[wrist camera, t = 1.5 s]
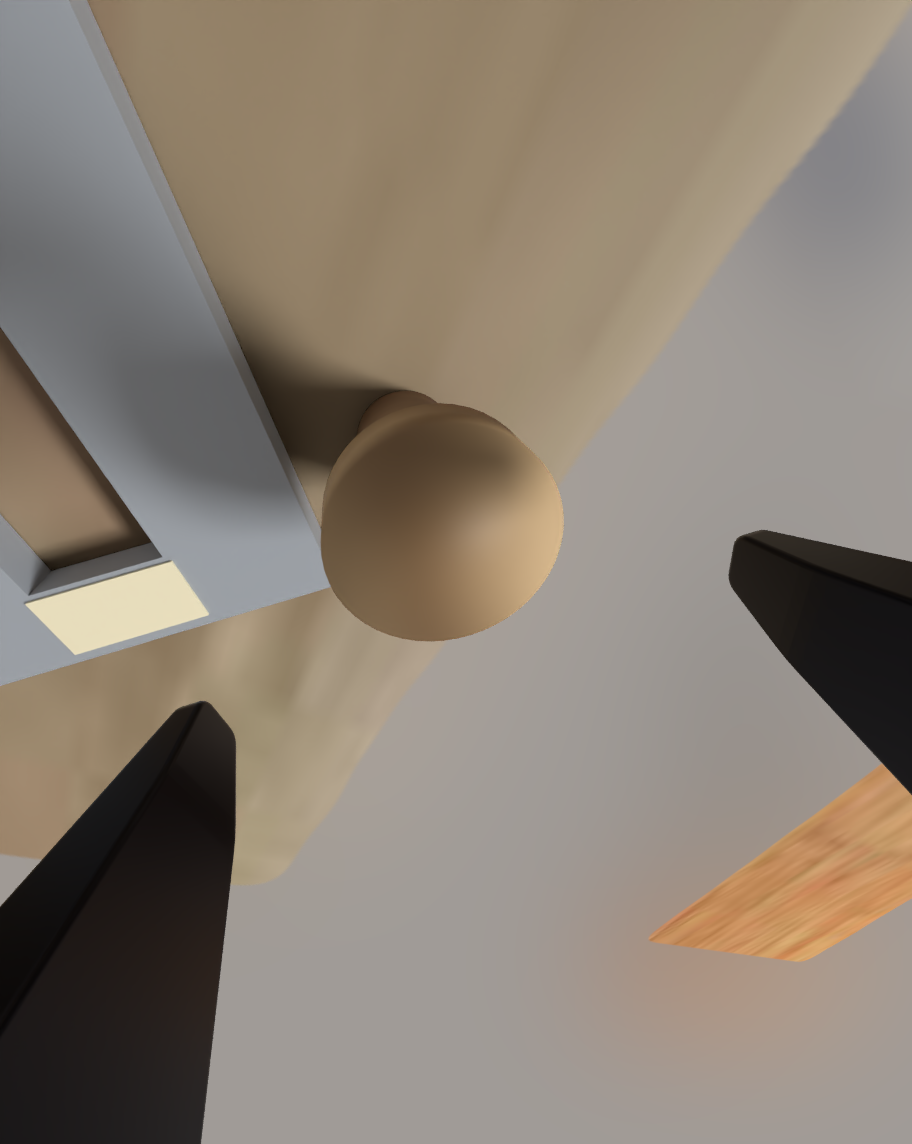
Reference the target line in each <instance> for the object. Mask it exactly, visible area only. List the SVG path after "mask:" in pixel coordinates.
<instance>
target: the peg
mask: <svg viewBox="0 0 912 1144" xmlns="http://www.w3.org/2000/svg"><path fill="white" fill-rule="evenodd" d="M563 524H564V523H563V508H562V501H561V497H560V494H559V491H558V488H557V485H556V483H555V481H554V479H553V477H552V475H551V473H550V472H549V471H548V469H547V468H546V466H545V465H544V464H543V462H542V461H541V460H540V459H539V458H538V457H537V456H536V455H535V454H534V453H533V452H532V451H531V450H530V449H529V448H528V447H527V446H526V445H525V444H524V443H523V442H522V441H521V440H520V439H519V438H517V437H516V436H515V435H514V434H513V433H512V432H511V431H510V430H509V429H508V428H507V427H505V426H504V425H503V424H501V423H500V422H499V421H497V420H496V419H494V418H492V417H490V416H489V415H487V414H485V413H483V412H480V411H477V410H475V409H472V408H469V407H464V406H459V405H455V404H441V403H437V402H436V401H434V400H433V399H431V398H430V397H428V396H426V395H424V394H421V393H418V392H414V391H397V392H392V393H389V394H386V395H384V396H382V397H380V398H379V399H377V400H376V401H375V402H374V403H372V404H371V405H370V406H369V408H368V409H367V410H366V411H365V413H364V415H363V416H362V418H361V421H360V423H359V427H358V431H357V436H356V437H355V438H354V439H353V440H352V441H351V442H350V443H349V444H348V446H347V447H346V448H345V449H344V450H343V452H342V453H341V454H340V456H339V458H338V459H337V461H336V463H335V464H334V466H333V468H332V471H331V473H330V475H329V478H328V480H327V484H326V488H325V492H324V498H323V507H322V525H321V557H322V562H323V567H324V571H325V574H326V576H327V579H328V582H329V584H330V586H331V587H332V589H333V591H334V593H335V595H336V596H337V597H338V599H339V600H340V601H341V602H342V604H343V605H344V606H345V607H346V608H347V609H348V610H349V611H350V612H351V613H352V614H353V615H354V616H355V617H357V618H358V619H360V620H361V621H362V622H364V623H365V624H367V625H369V626H371V627H372V628H374V629H376V630H378V631H381V632H383V633H386V634H388V635H391V636H395V637H399V638H402V639H409V640H415V641H444V640H450V639H457V638H461V637H465V636H468V635H472V634H474V633H477V632H480V631H483V630H485V629H487V628H489V627H491V626H494V625H496V624H497V623H499V622H501V621H503V620H504V619H506V618H508V617H509V616H510V615H512V614H513V613H514V612H516V611H517V610H518V609H520V608H521V607H522V606H523V605H524V604H525V603H526V602H527V601H528V600H529V599H530V598H531V597H532V596H533V595H534V594H535V593H536V592H537V590H538V589H539V588H540V586H541V585H542V584H543V582H544V581H545V580H546V578H547V576H548V575H549V573H550V571H551V569H552V567H553V565H554V563H555V560H556V558H557V555H558V553H559V549H560V545H561V541H562V535H563V526H564V525H563Z"/></svg>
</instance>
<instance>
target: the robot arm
mask: <svg viewBox="0 0 912 1144" xmlns="http://www.w3.org/2000/svg"><path fill="white" fill-rule="evenodd" d="M729 581H730V585H731V587H732V588H733V590H734V591H735V593H736V594H737V595H738V597H739V598H740V599H741V601H742V602H743V603H744V605H745V606H746V607H747V609H748V610H749V611H750V613H751V614H752V615H753V616H754V618H755V619H756V621H757V622H758V623H759V624H760V626H761V627H762V629H763V630H764V631H765V632H766V634H767V635H768V636H769V638H770V639H771V640H772V642H773V643H774V644H775V646H776V647H777V648H778V650H779V651H780V652H781V653H782V655H783V656H784V657H785V658H786V659H787V660H788V662H789V663H790V664H791V665H792V666H793V667H794V669H795V670H796V671H797V672H798V673H799V674H800V675H801V676H802V677H803V678H804V679H805V681H806V682H808V684H809V685H810V686H811V687H812V688H813V689H814V690H815V691H816V692H817V693H818V694H819V696H821V698H822V699H823V700H824V701H825V702H826V703H827V704H828V705H829V706H830V707H831V708H832V710H833V711H834V712H835V713H836V714H837V715H838V716H839V717H840V718H841V719H842V720H843V721H844V723H845V724H846V725H847V726H848V727H849V728H850V729H851V730H852V731H853V732H854V733H855V734H856V735H857V737H858V738H859V739H860V740H861V741H862V742H863V743H864V744H865V745H866V746H867V747H868V748H869V749H870V751H871V752H873V754H874V755H875V756H876V757H877V758H878V759H879V760H880V761H881V762H882V763H883V765H884V766H885V767H886V768H887V769H888V770H889V771H890V772H891V773H892V774H893V775H894V776H895V777H896V779H897V780H898V781H899V782H900V783H901V784H902V785H903V786H904V787H905V788H906V789H907V790H908V791H909V793H910V794H911V795H912V562H910V561H906V560H901V559H896V558H892V557H887V556H882V555H878V554H873V553H869V552H864V551H859V550H855V549H850V548H846V547H841V546H837V545H832V544H827V543H823V542H818V541H813V540H808V539H804V538H799V537H795V536H791V535H785V534H781V533H777V532H772V531H768V530H759V531H755V532H752V533H748V534H745V535H742V536H740V537H738V538H737V540H736V541H735V543H734V547H733V552H732V558H731V563H730V569H729ZM235 829H236V741H235V736H234V733H233V731H232V730H231V728H230V727H229V726H228V724H227V723H226V722H225V721H224V720H223V718H222V717H221V716H220V715H219V713H218V712H217V711H216V710H215V709H214V707H213V706H212V705H211V704H210V703H208V702H206V701H199V702H196V703H192V704H189V705H186V706H183V707H180V708H178V709H177V710H175V711H174V712H173V714H172V715H171V716H170V717H169V718H168V719H167V720H166V721H165V723H164V724H163V725H162V726H161V727H160V728H159V729H158V730H157V732H156V733H155V734H154V735H153V736H152V737H151V738H150V739H149V740H148V742H147V743H146V744H145V745H144V746H143V747H142V748H141V749H140V751H139V752H138V753H137V754H136V755H135V756H134V757H133V758H132V760H131V761H130V762H129V763H128V764H127V765H126V766H125V767H124V769H123V770H122V771H121V772H120V773H119V774H118V775H117V776H116V777H115V779H114V780H113V781H112V782H111V783H110V784H109V785H108V786H107V788H106V789H105V790H104V791H103V792H102V793H101V794H100V795H99V797H98V798H97V799H96V800H95V801H94V802H93V803H92V804H91V806H90V807H89V808H88V809H87V810H86V811H85V812H84V813H83V814H82V816H81V817H80V818H79V819H78V820H77V821H76V822H75V823H74V825H73V826H72V827H71V828H70V829H69V830H68V831H67V832H66V834H65V835H64V836H63V837H62V838H61V839H60V840H59V841H58V842H57V844H56V845H55V846H54V847H53V848H52V849H51V850H50V851H49V853H48V854H47V855H46V856H45V857H44V858H43V859H42V860H41V862H40V863H39V864H38V865H37V866H36V867H35V868H34V869H33V870H32V872H31V873H30V874H29V875H28V876H27V877H26V879H25V880H24V881H23V882H22V883H21V884H20V885H19V886H18V887H17V888H16V890H15V891H14V892H13V893H12V894H11V895H10V897H8V898H7V900H6V901H5V902H4V903H3V904H2V905H1V906H0V1144H201V1138H202V1129H203V1120H204V1112H205V1103H206V1093H207V1084H208V1076H209V1067H210V1058H211V1050H212V1041H213V1031H214V1022H215V1015H216V1005H217V996H218V988H219V979H220V971H221V962H222V953H223V944H224V935H225V926H226V917H227V909H228V900H229V891H230V882H231V874H232V865H233V856H234V845H235Z"/></svg>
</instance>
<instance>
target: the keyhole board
mask: <svg viewBox="0 0 912 1144" xmlns="http://www.w3.org/2000/svg"><path fill="white" fill-rule="evenodd" d="M0 327H1V329H2V330H3V331H4V333H5V334H6V336H7V337H8V339H9V340H10V341H11V343H12V344H13V346H14V347H15V348H16V350H17V351H18V353H19V354H20V356H21V357H22V358H23V360H24V361H25V363H26V364H27V366H28V367H29V368H30V370H31V371H32V373H33V374H34V375H35V377H36V378H37V380H38V381H39V383H40V384H41V385H42V387H43V388H44V390H45V391H46V392H47V394H48V395H49V397H50V398H51V400H52V401H53V402H54V404H55V405H56V407H57V408H58V409H59V411H60V412H61V414H62V415H63V417H64V418H65V419H66V421H67V422H68V424H69V425H70V426H71V428H72V429H73V431H74V432H75V434H76V435H77V436H78V438H79V439H80V441H81V442H82V443H83V445H84V446H85V448H86V449H87V451H88V452H89V453H90V455H91V456H92V458H93V459H94V460H95V462H96V463H97V465H98V466H99V468H100V469H101V470H102V472H103V473H104V475H105V476H106V477H107V479H108V480H109V482H110V483H111V485H112V486H113V487H114V489H115V490H116V492H117V493H118V494H119V496H120V497H121V499H122V500H123V502H124V503H125V504H126V506H127V507H128V509H129V510H130V511H131V513H132V514H133V516H134V517H135V519H136V520H137V521H138V523H139V524H140V526H141V527H142V528H143V530H144V531H145V533H146V534H147V536H148V537H149V538H150V540H151V541H152V542H151V543H148V544H144V545H141V546H137V547H134V548H130V549H127V550H123V551H120V552H116V553H113V554H109V555H106V556H102V557H99V558H95V559H92V560H88V561H85V562H81V563H78V564H74V565H71V566H67V567H64V568H61V569H57V570H54V571H51V570H50V569H49V568H48V567H47V566H46V565H45V564H44V562H43V561H42V560H41V559H40V558H39V557H38V556H37V555H36V553H35V552H34V551H33V550H32V549H31V548H30V547H29V546H28V545H27V543H26V542H25V541H24V540H23V539H22V538H21V537H20V536H19V535H18V533H17V532H16V531H15V530H14V529H13V528H12V527H11V526H10V524H9V523H8V522H7V521H6V520H5V519H4V518H3V517H2V516H1V514H0V686H1V685H5V684H8V683H11V682H15V681H18V680H21V679H25V678H28V677H31V676H35V675H38V674H41V673H45V672H48V671H52V670H55V669H58V668H62V667H65V666H68V665H72V664H75V663H78V662H82V661H85V660H88V659H92V658H95V657H98V656H102V655H105V654H108V653H112V652H115V651H118V650H122V649H125V648H128V647H132V646H135V645H138V644H142V643H145V642H148V641H152V640H155V639H159V638H162V637H165V636H169V635H172V634H175V633H179V632H182V631H185V630H189V629H192V628H195V627H199V626H202V625H205V624H209V623H212V622H215V621H219V620H222V619H225V618H229V617H232V616H235V615H239V614H242V613H245V612H249V611H252V610H255V609H259V608H262V607H266V606H269V605H272V604H276V603H279V602H282V601H286V600H289V599H292V598H296V597H299V596H302V595H306V594H309V593H312V592H316V591H319V590H322V589H326V588H329V587H331V586H330V584H329V582H328V579H327V576H326V574H325V571H324V567H323V562H322V557H321V528H320V526H319V524H318V522H317V519H316V517H315V515H314V513H313V510H312V508H311V506H310V504H309V501H308V499H307V497H306V494H305V492H304V490H303V488H302V485H301V483H300V481H299V479H298V476H297V474H296V472H295V470H294V467H293V465H292V463H291V461H290V458H289V456H288V454H287V452H286V449H285V447H284V445H283V442H282V440H281V438H280V436H279V433H278V431H277V429H276V427H275V424H274V422H273V420H272V418H271V415H270V413H269V411H268V409H267V406H266V404H265V402H264V400H263V397H262V395H261V393H260V391H259V388H258V386H257V384H256V381H255V379H254V377H253V375H252V372H251V370H250V368H249V366H248V363H247V361H246V359H245V357H244V354H243V352H242V350H241V348H240V345H239V343H238V341H237V339H236V336H235V334H234V332H233V330H232V327H231V325H230V323H229V320H228V318H227V316H226V314H225V311H224V309H223V307H222V305H221V302H220V300H219V298H218V296H217V293H216V291H215V289H214V287H213V284H212V282H211V280H210V278H209V275H208V273H207V271H206V268H205V266H204V264H203V262H202V259H201V257H200V255H199V253H198V250H197V248H196V246H195V244H194V241H193V239H192V237H191V235H190V232H189V230H188V228H187V226H186V223H185V221H184V219H183V217H182V214H181V212H180V210H179V207H178V205H177V203H176V201H175V198H174V196H173V194H172V192H171V189H170V187H169V185H168V183H167V180H166V178H165V176H164V174H163V171H162V169H161V167H160V165H159V162H158V160H157V158H156V155H155V153H154V151H153V149H152V146H151V144H150V142H149V140H148V137H147V135H146V133H145V131H144V128H143V126H142V124H141V122H140V119H139V117H138V115H137V113H136V110H135V108H134V106H133V104H132V101H131V99H130V97H129V94H128V92H127V90H126V88H125V85H124V83H123V81H122V79H121V76H120V74H119V72H118V70H117V67H116V65H115V63H114V61H113V58H112V56H111V54H110V52H109V49H108V47H107V45H106V43H105V40H104V38H103V36H102V33H101V31H100V29H99V27H98V24H97V22H96V20H95V18H94V15H93V13H92V11H91V9H90V6H89V4H88V2H87V0H0Z"/></svg>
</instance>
